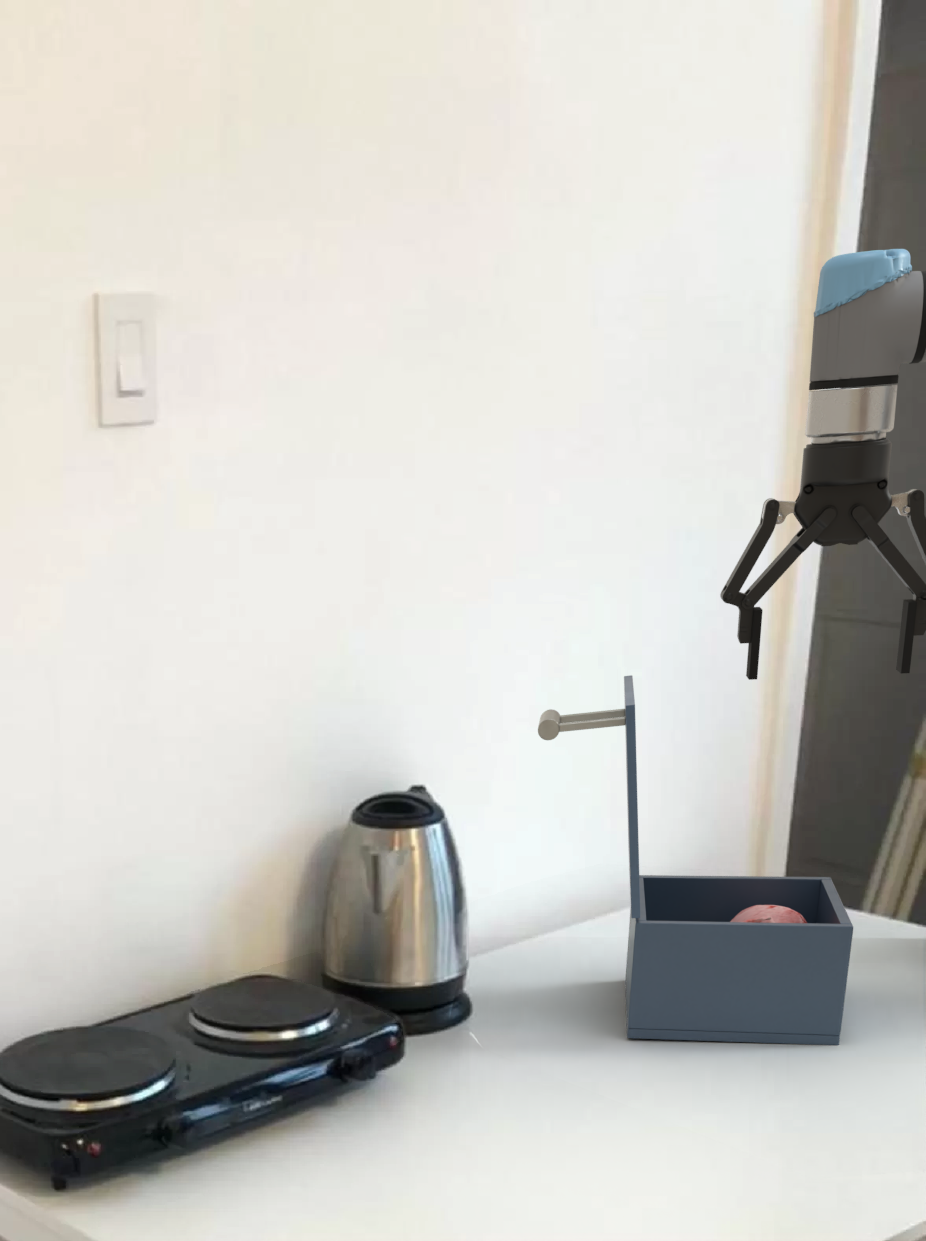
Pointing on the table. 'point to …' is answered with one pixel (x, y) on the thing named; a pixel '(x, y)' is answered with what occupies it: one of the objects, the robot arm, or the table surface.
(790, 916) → the ice cream
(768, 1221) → the table surface
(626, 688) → the freezer lid
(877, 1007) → the table surface
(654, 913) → the box
